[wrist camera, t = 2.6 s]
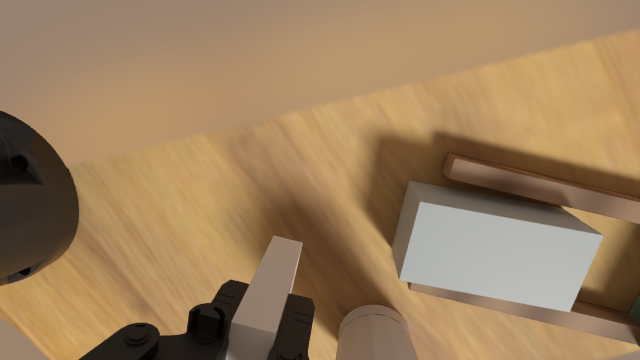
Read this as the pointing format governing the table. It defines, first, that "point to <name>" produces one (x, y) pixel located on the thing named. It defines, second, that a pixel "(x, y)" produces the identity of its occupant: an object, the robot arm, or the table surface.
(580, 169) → the table surface
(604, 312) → the brown green u-shaped frame
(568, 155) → the table surface
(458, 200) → the block
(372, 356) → the cup
